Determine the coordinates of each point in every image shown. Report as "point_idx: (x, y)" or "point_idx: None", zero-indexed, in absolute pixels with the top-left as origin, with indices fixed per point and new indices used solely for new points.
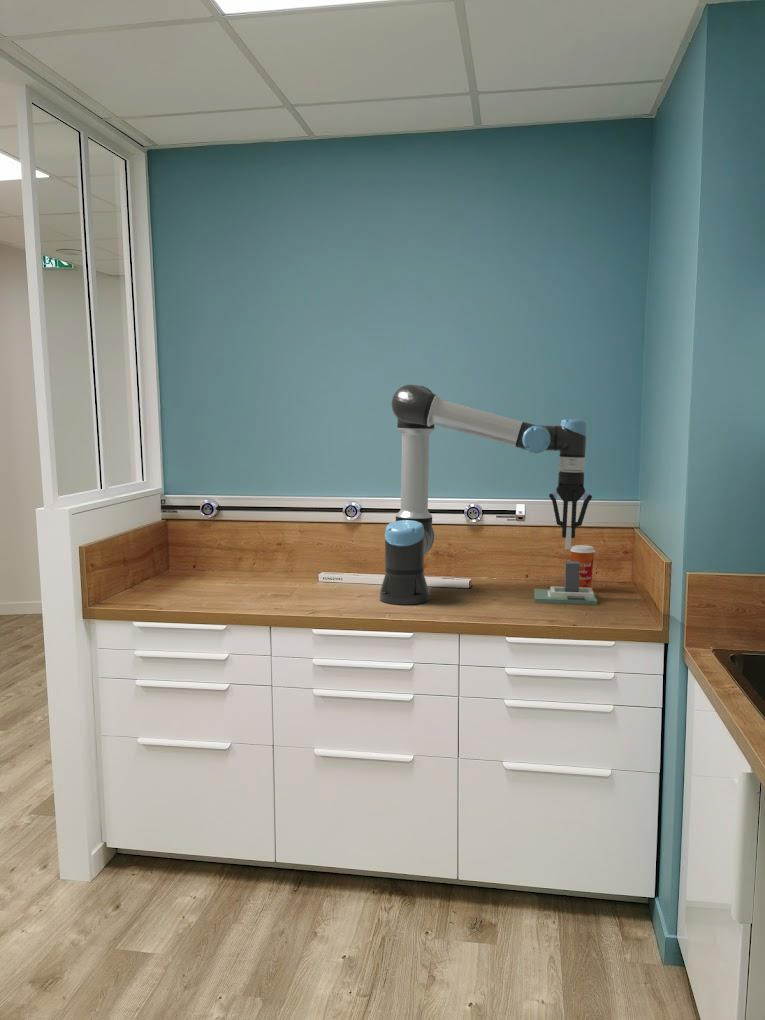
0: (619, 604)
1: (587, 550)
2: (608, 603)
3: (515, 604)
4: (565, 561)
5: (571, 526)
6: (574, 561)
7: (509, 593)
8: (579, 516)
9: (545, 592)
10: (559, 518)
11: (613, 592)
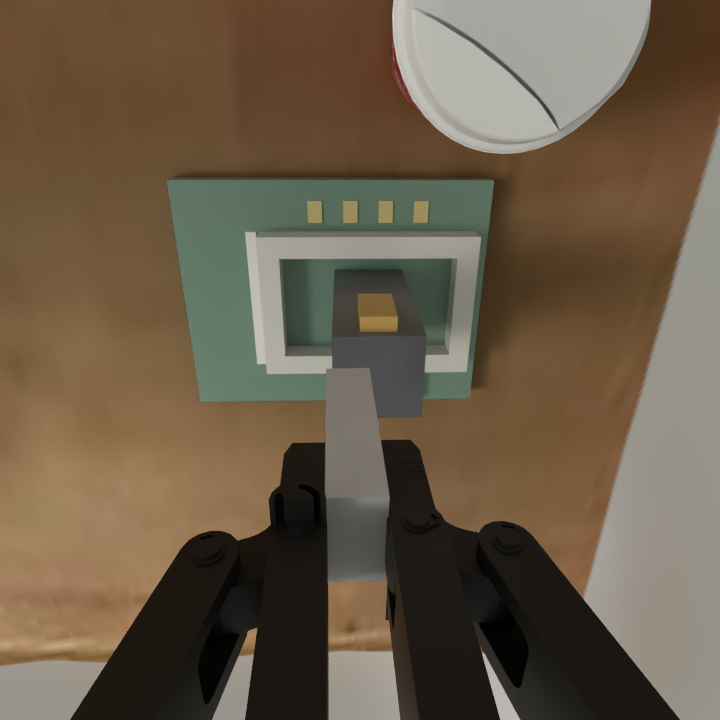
0: (563, 366)
1: (550, 135)
2: (520, 356)
3: (129, 432)
4: (332, 349)
5: (387, 575)
6: (396, 341)
7: (46, 221)
8: (529, 676)
9: (236, 268)
10: (215, 697)
11: (617, 96)
